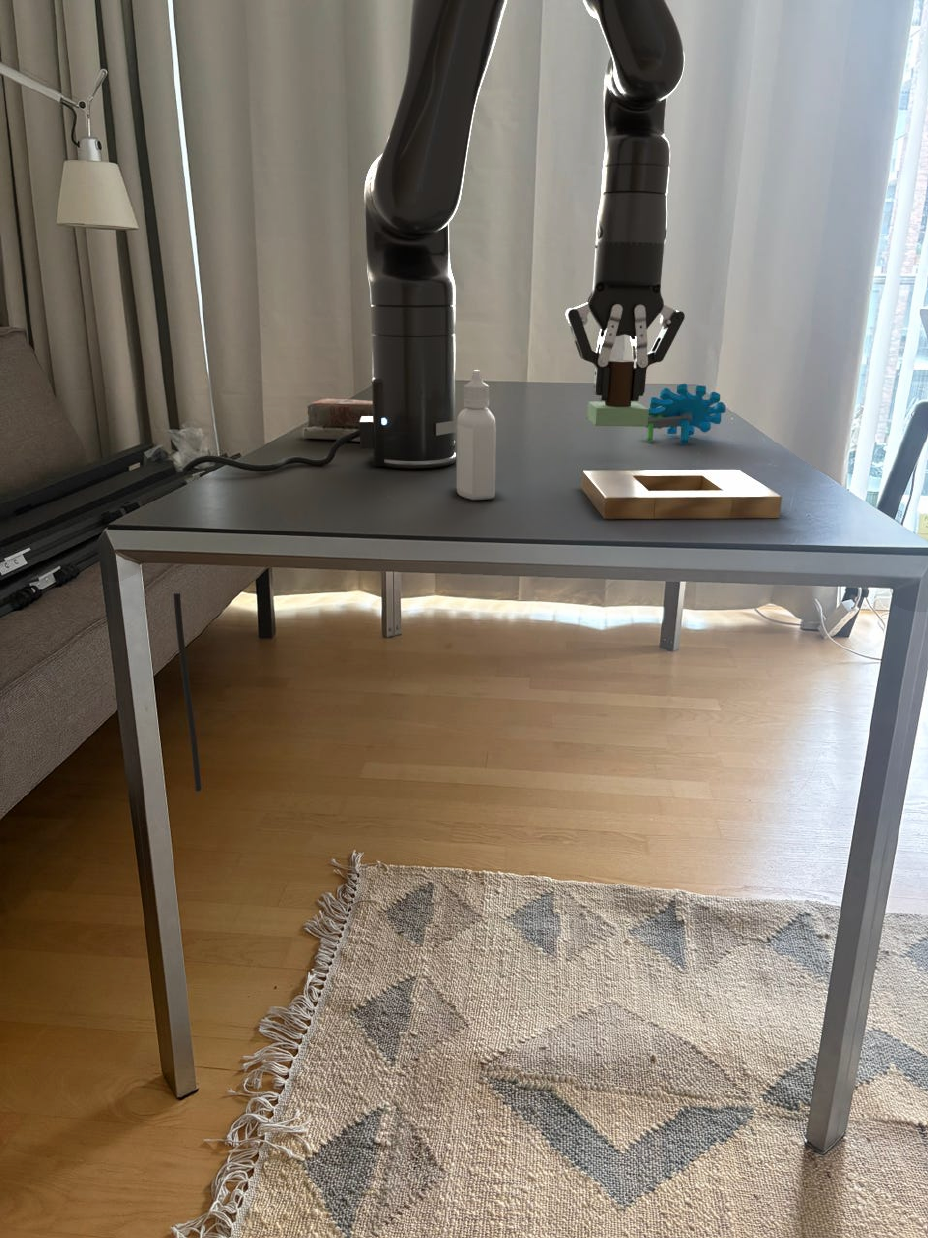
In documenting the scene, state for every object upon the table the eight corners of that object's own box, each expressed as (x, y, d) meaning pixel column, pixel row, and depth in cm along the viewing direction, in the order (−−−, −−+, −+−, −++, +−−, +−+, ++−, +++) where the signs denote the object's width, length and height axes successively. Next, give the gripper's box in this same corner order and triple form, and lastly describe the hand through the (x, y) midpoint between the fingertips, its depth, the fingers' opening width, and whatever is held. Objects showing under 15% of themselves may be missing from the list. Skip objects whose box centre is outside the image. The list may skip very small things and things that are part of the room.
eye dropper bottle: (447, 500, 90) (447, 372, 86) (459, 487, 95) (460, 367, 91) (491, 502, 89) (494, 373, 85) (502, 490, 95) (504, 368, 90)
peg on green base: (595, 425, 106) (599, 362, 104) (586, 418, 112) (590, 357, 110) (647, 426, 107) (653, 363, 104) (636, 419, 112) (641, 359, 110)
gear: (728, 424, 125) (722, 375, 117) (727, 460, 123) (721, 413, 114) (645, 431, 129) (634, 384, 120) (643, 466, 127) (631, 421, 118)
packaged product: (298, 402, 120) (326, 393, 129) (300, 440, 122) (328, 428, 131) (432, 407, 116) (452, 397, 126) (433, 446, 118) (452, 434, 127)
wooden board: (604, 519, 84) (605, 497, 83) (582, 490, 95) (583, 470, 94) (779, 518, 84) (782, 496, 84) (737, 489, 96) (739, 469, 95)
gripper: (684, 242, 106) (669, 397, 112) (562, 239, 106) (553, 395, 112) (703, 240, 99) (686, 405, 105) (572, 237, 99) (562, 403, 105)
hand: (617, 399), depth 108 cm, fingers closed on peg on green base, 3 cm apart
